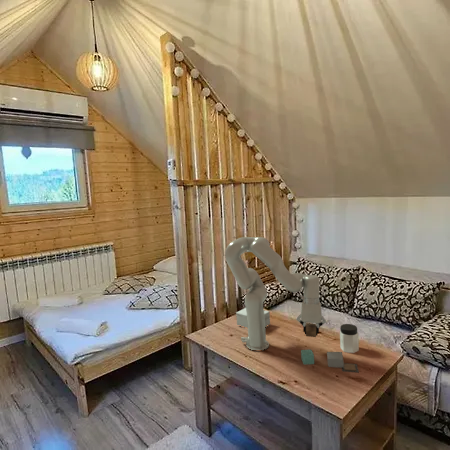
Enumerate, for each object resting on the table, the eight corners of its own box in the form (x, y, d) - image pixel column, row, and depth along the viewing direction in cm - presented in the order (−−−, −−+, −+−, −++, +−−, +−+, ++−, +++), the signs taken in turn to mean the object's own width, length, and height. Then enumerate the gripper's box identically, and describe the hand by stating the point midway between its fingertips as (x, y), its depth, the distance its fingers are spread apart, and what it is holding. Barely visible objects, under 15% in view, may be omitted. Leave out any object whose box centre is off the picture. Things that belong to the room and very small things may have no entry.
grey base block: (328, 367, 154) (327, 359, 154) (327, 359, 161) (327, 351, 161) (344, 367, 152) (343, 359, 152) (342, 359, 159) (342, 351, 159)
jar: (338, 345, 174) (337, 324, 172) (353, 344, 174) (352, 322, 173) (345, 354, 165) (344, 331, 163) (361, 352, 165) (360, 330, 164)
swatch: (342, 371, 150) (342, 370, 150) (341, 363, 157) (341, 362, 156) (358, 372, 148) (358, 371, 148) (356, 364, 155) (356, 363, 155)
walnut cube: (305, 336, 167) (305, 326, 166) (306, 331, 172) (306, 322, 171) (316, 337, 165) (316, 327, 165) (316, 332, 170) (316, 323, 170)
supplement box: (236, 326, 207) (235, 312, 206) (249, 319, 217) (248, 305, 216) (258, 333, 196) (257, 317, 195) (270, 325, 206) (269, 310, 205)
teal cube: (303, 365, 158) (303, 355, 157) (301, 359, 163) (301, 350, 162) (314, 364, 158) (313, 354, 157) (311, 359, 163) (311, 349, 162)
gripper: (293, 301, 165) (293, 335, 167) (329, 303, 160) (328, 338, 163) (294, 296, 172) (294, 329, 174) (328, 298, 167) (328, 332, 170)
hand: (311, 333), depth 168 cm, fingers closed on walnut cube, 5 cm apart
